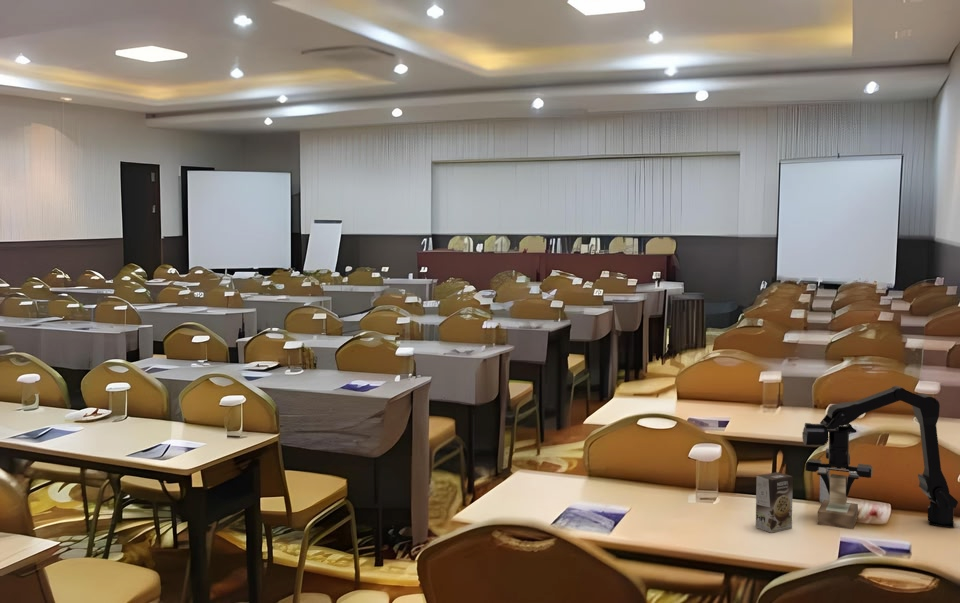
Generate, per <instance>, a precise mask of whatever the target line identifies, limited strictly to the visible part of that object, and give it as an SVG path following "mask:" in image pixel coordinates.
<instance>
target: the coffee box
mask: <svg viewBox="0 0 960 603" xmlns="http://www.w3.org/2000/svg"><path fill="white" fill-rule="evenodd" d="M793 477H794V476H793V475H789V474H785V473H781V472H776V471H775V472H771V473H764V474H759V475H756V485H755V486H756V490H755V528H758V530H759V529H760V530H762V531H764V532H766V533H767V532H768V533H770V534H773V533H776V532H782V531H786V530H792V528H793V486H794V485H793Z"/></svg>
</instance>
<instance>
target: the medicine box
mask: <svg viewBox="0 0 960 603" xmlns="http://www.w3.org/2000/svg"><path fill="white" fill-rule="evenodd" d="M823 500H830V495H829V493H828V490H827V488H826V485H825V483H824V481H823V479H822V477H821V476H820V477H819V502H820V503H821V504H822V502H823Z"/></svg>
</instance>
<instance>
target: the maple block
mask: <svg viewBox="0 0 960 603" xmlns="http://www.w3.org/2000/svg"><path fill="white" fill-rule="evenodd" d="M847 480H848V475H846V474H845V475H843V474H834V473H830V503H835V504H843V505H846V502H847V503H848V497H846V488H847Z"/></svg>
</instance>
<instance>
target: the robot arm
mask: <svg viewBox="0 0 960 603" xmlns="http://www.w3.org/2000/svg"><path fill="white" fill-rule="evenodd" d="M899 401H900V402H903V403H904V404H905V403H906V404H908V405H911V407H912V410H913V413H914V416H915V418H916V420H917V422H918V424H919V432H920V441H921V449H922V457H923V466H924V468H923V473H921V474H919V473H918V474H917V478H918V481H919V484H918V488H920V489H921V491H922V493H923V494H925V495H926V497H927V499H928V501H929V505H928V506H927V521H928V523H929V524H928V525H931V526H937V527H946V528H954V527H955V520H954V514H955V512H954V511H955V510H954V509H956V508H957V507H958V503H959V501H958V500H957V499H956V498H955V497H954V496H953V495H951V493H950V489H949V486H948V481H947V479H946V477H945V476H944V473H943V471H942V466H941V457H940V448H939V447H940V446H939V440H938V431H937V430H938V429H937V423H938V421H939V418H940V410H941V409H940V408H941V406H940V402H939V400H937V398H936V397H933V396H932V395H931V396H930V395H928V394H926V393H918V394H916V393H914V392H912V391H910V390H907V389H905V388H904V387H901V386H899V385H895V386H892V387H890V388H888V389H885V390H883V391H880V392H877V393H874V394H871V395H869V396H866V397H864V398H861V399H858V400H855V401H848V402H846V401H845V402H840V403H834V404H831V405H830V406H829V407H828V410H827V412H826V414H825V416H824V417H823V419H822V420H821V421H820V422H819V423H810V422H805V423H804V427H803V429H802V432H801V433H802V434H801V435H802V442H803V445H804V446H826V445H825V444H828V448H826V449H825V458H826V459H827V460H828V463H826V462H822V460H821V459H814V458H808V460H807V461H806V462H805V466H804V468H805V471H806V472H812V473H816V474H817V476H820V477H822V479H823V481H824V483H825V485H826V488H827V490H828V493H829V495H830V476H831V473H830V472H831V471H836V472H845V473H848V475H847V488H846V497H847V498H848V497H849V493H850V490H851V488H852V485H853V484H854V482H855V480H859V478H866V479H867V478H868V479H869V478H872V476H873V470H874V469H873V466H872V464H864V463H863V464H862V463H858V465H857V466H854V465H853V466H852V465H850V464H851V454H850V445H849V444H850V433H856V432H857V429H855V428H854V427H853V426H852V424H851V423H852V422H854V421H856V420H857V419H858V418H859V417H861V416H862V415H864V414H867V413H870V412H871V411H874V410H877V409H881V408H884V407H885V406H888V405H891V404H894V403H897V402H899Z"/></svg>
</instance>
